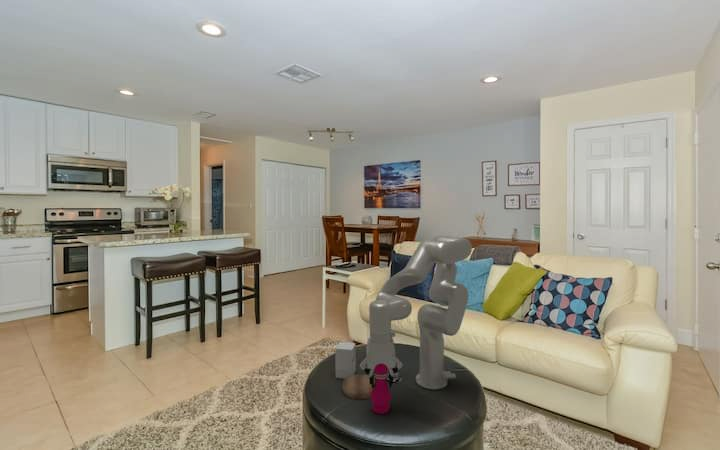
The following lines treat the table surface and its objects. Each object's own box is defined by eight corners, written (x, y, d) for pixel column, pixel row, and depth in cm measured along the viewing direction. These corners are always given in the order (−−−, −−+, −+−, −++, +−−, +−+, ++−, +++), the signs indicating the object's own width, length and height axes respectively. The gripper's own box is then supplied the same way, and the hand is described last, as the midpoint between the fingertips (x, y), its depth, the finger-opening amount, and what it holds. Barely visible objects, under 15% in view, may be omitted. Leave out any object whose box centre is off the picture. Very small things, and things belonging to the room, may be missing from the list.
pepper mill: (366, 410, 126) (366, 355, 124) (377, 400, 132) (377, 348, 130) (384, 417, 122) (384, 360, 120) (394, 406, 128) (394, 352, 126)
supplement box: (352, 379, 147) (352, 350, 146) (335, 378, 149) (334, 348, 148) (356, 371, 155) (355, 342, 154) (339, 369, 156) (339, 341, 155)
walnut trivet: (377, 379, 147) (377, 374, 147) (379, 399, 133) (379, 392, 133) (343, 380, 147) (342, 374, 146) (341, 399, 133) (341, 393, 133)
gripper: (403, 331, 129) (404, 379, 130) (355, 332, 129) (357, 380, 130) (406, 340, 121) (407, 390, 123) (355, 341, 121) (357, 392, 123)
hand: (381, 385), depth 127 cm, fingers open, 5 cm apart
